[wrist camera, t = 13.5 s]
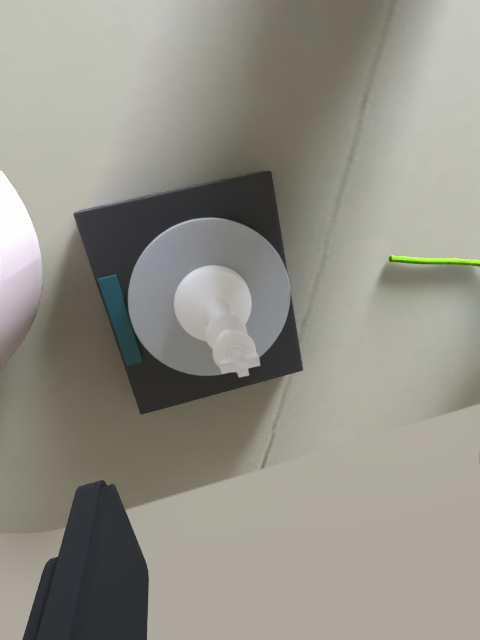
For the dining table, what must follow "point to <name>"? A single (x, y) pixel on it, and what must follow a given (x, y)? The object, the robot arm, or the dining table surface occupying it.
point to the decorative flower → (434, 261)
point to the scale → (173, 266)
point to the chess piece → (218, 316)
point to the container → (17, 271)
